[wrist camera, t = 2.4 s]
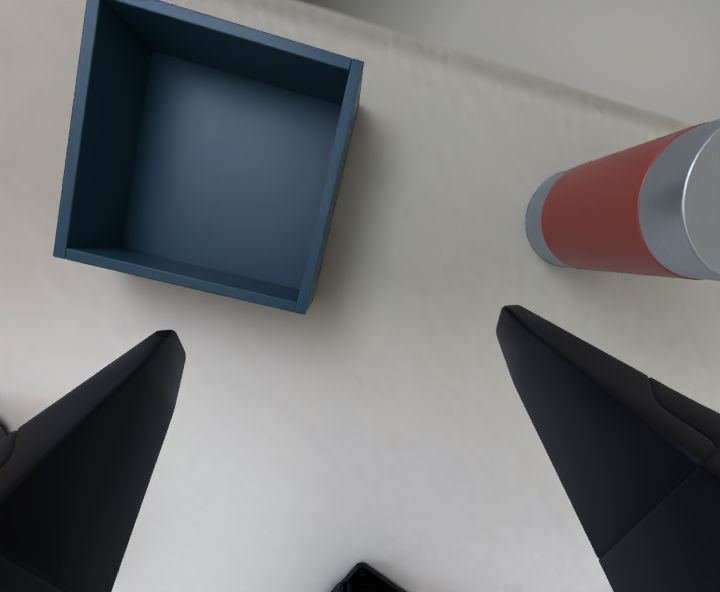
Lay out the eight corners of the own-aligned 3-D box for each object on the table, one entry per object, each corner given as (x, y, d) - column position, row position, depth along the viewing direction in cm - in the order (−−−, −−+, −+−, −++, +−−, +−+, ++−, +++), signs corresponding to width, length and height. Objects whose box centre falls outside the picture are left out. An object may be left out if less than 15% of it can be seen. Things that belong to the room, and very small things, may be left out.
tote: (358, 103, 22) (364, 61, 17) (312, 300, 24) (305, 315, 19) (148, 42, 21) (88, -22, 16) (116, 254, 22) (52, 256, 17)
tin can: (636, 214, 24) (883, 187, 13) (570, 286, 24) (754, 319, 14) (572, 148, 23) (779, 59, 12) (504, 224, 23) (645, 205, 13)
